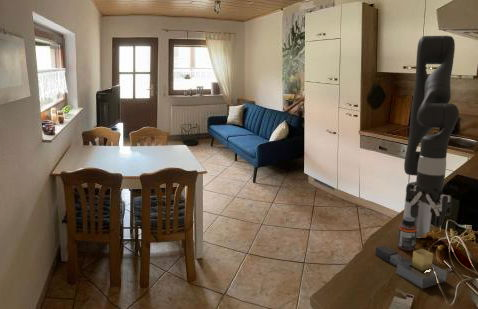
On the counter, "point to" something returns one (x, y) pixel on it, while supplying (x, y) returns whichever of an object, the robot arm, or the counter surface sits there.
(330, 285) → the counter surface
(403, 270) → the grey square paddle
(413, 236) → the supplement bottle
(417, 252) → the peg
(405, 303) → the counter surface
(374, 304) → the counter surface
